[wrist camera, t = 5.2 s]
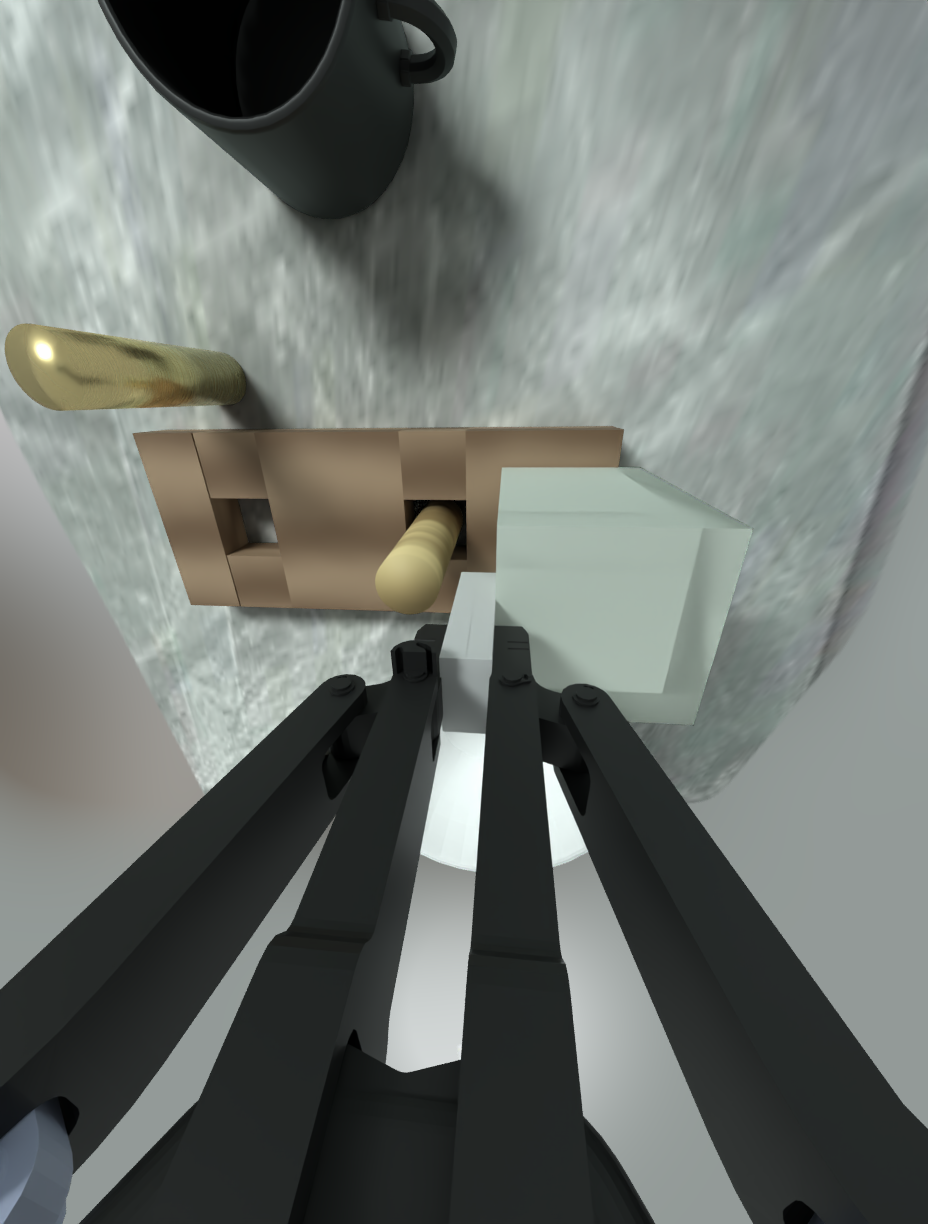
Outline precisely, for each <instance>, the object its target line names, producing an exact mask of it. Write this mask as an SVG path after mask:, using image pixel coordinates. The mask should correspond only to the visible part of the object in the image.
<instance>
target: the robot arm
mask: <svg viewBox="0 0 928 1224" xmlns="http://www.w3.org/2000/svg"><path fill="white" fill-rule="evenodd" d="M495 593H496V573H485V572H461V576H460V580H459V584H458V588H457V591H456V595H455V599H454V603H453V607H452V610H451V614H450V618H449V622H448V625H435V624H425V625H424V626H423V627H422V628H421V629H419V630H418V631H417V634H416V636H415V640H411V641H406V642H402V643H400V644H398V645H396V646H394V648H393V649H392V650H391V659H392V668H393V676H392V679H391V680H390V681H388V682H385V683H381V684H376V685H370V686H366V685H365V681H364V680H363V679H362V678H361V677H359V676H356V675H349V674H345V675H339V676H335V677H333V678H330V679H328V680H327V681H325V682H324V683H322V684H321V685H320V686H319V687H318V688H317V689H316V690H315V691H314V692H313V693H312V694H311V695H310V696H309V697H308V698H307V699H306V700H304V701H303V702H302V703H301V704H300V705H299V706H298V707H297V708H296V709H295V710H294V711H293V712H292V713H291V714H290V715H289V716H288V717H287V718H286V719H284V720H283V721H282V722H281V723H280V724H279V725H278V726H277V727H276V728H275V729H274V730H273V731H272V732H271V733H270V734H269V735H268V736H267V737H266V738H265V739H263V740H262V741H261V742H260V743H259V744H258V745H257V746H256V747H255V748H254V749H253V750H252V751H251V752H250V753H249V754H248V755H247V756H246V757H245V758H243V759H242V760H241V761H240V762H239V763H238V764H237V765H236V766H235V767H234V768H233V769H232V770H231V771H230V772H229V773H228V774H227V775H226V776H225V777H223V778H222V779H221V780H220V781H219V782H218V783H217V784H216V785H215V786H214V787H213V788H212V789H211V790H210V791H209V792H208V793H207V794H206V795H205V796H204V797H202V798H201V799H200V801H198V802H197V803H196V804H195V805H194V806H193V807H192V808H191V809H190V810H189V811H188V812H187V813H186V814H185V815H184V816H182V817H181V819H179V820H178V821H177V822H176V823H175V824H174V825H173V826H172V827H171V828H170V829H169V830H168V831H167V832H166V833H165V834H164V835H162V837H160V838H159V839H158V840H157V841H156V842H155V843H154V844H153V845H152V846H151V847H150V848H149V849H148V850H147V851H146V852H145V853H144V854H142V855H141V857H139V858H138V859H137V860H136V861H135V862H134V863H133V864H132V865H131V866H130V867H129V868H128V869H127V870H126V871H125V872H124V873H123V874H122V875H120V876H119V877H118V878H117V879H116V880H115V881H114V882H113V883H112V884H111V885H110V886H109V887H108V888H107V889H106V890H105V891H104V892H103V893H101V895H99V896H98V898H96V899H95V900H94V901H93V902H92V903H91V904H90V905H89V906H88V907H87V908H86V909H85V910H84V911H83V912H82V913H80V914H79V915H78V916H77V917H76V918H75V919H74V920H73V921H72V922H71V923H70V924H69V925H68V926H67V927H66V928H65V929H64V930H63V931H62V932H61V933H60V934H58V935H57V936H56V937H55V938H54V939H53V940H52V941H51V942H50V943H49V944H48V945H47V946H46V947H45V948H44V949H43V950H42V951H40V953H38V954H37V955H36V956H35V957H34V958H33V959H32V960H31V961H30V962H29V963H28V964H27V965H26V966H25V967H24V968H23V969H22V970H20V972H18V973H17V974H16V975H15V976H14V977H13V978H12V979H11V980H10V981H9V982H8V983H7V984H6V985H5V986H4V987H3V988H2V989H0V1224H62V1223H63V1220H64V1217H65V1214H66V1197H67V1195H68V1192H69V1188H70V1184H71V1179H72V1175H73V1174H74V1173H75V1172H76V1170H77V1169H78V1168H79V1167H80V1166H81V1165H82V1164H83V1163H84V1162H85V1161H86V1160H87V1159H88V1158H89V1156H91V1154H92V1153H93V1152H94V1151H95V1150H96V1149H97V1148H98V1146H99V1145H100V1144H101V1143H102V1142H103V1141H104V1139H105V1138H106V1137H107V1136H108V1134H109V1133H110V1132H111V1131H112V1129H114V1127H115V1126H116V1125H117V1124H118V1123H119V1121H120V1120H121V1119H122V1118H123V1116H124V1115H125V1114H126V1113H127V1112H128V1111H129V1109H130V1108H131V1107H132V1106H133V1105H134V1103H135V1102H136V1100H137V1099H138V1098H139V1096H140V1095H141V1094H142V1092H143V1091H144V1089H145V1088H146V1087H147V1085H148V1084H149V1083H150V1081H151V1080H152V1079H153V1077H154V1076H155V1075H156V1073H157V1072H158V1071H159V1069H160V1068H161V1067H162V1065H163V1064H164V1062H165V1061H166V1060H167V1058H168V1057H169V1055H170V1054H171V1052H172V1051H173V1049H174V1048H175V1047H176V1045H177V1043H178V1042H179V1041H180V1039H181V1038H182V1036H183V1035H184V1034H185V1032H186V1031H187V1029H188V1028H189V1026H190V1025H191V1023H192V1022H193V1021H194V1019H195V1018H196V1016H197V1015H198V1013H199V1012H200V1010H201V1009H202V1007H203V1006H204V1005H205V1003H206V1002H207V1000H208V999H209V997H210V996H211V995H212V993H213V992H214V990H215V989H216V987H217V986H218V984H219V983H220V981H221V980H222V978H223V977H224V976H225V974H226V973H227V971H228V970H229V968H230V967H231V965H232V964H233V963H234V961H235V960H236V958H237V957H238V955H239V954H240V953H241V951H242V950H243V948H244V947H245V945H246V944H247V942H248V941H249V940H250V938H251V937H252V935H253V934H254V932H255V931H256V929H257V928H258V927H259V925H260V924H261V922H262V921H263V919H264V918H265V916H266V915H267V914H268V912H269V911H270V909H271V908H272V906H273V905H274V903H275V902H276V900H277V899H278V898H279V896H280V894H281V893H282V892H283V890H284V889H285V887H286V886H287V885H288V883H289V882H290V880H291V879H292V877H293V876H294V874H295V873H296V871H297V870H298V869H299V867H300V866H301V864H302V863H303V861H304V860H305V859H306V857H307V856H308V854H309V853H310V851H311V850H312V848H313V847H314V846H315V844H316V843H317V841H318V840H319V838H320V837H321V835H322V834H323V833H324V831H325V830H326V828H327V827H328V825H329V824H330V822H331V821H332V820H333V818H334V817H335V815H336V817H335V819H334V822H333V824H332V826H331V829H330V831H329V834H328V836H327V839H326V841H325V844H324V846H323V849H322V851H321V854H320V856H319V859H318V861H317V863H316V866H315V868H314V871H313V873H312V876H311V878H310V880H309V883H308V886H307V888H306V891H305V893H304V895H303V898H302V900H301V903H300V905H299V908H298V910H297V912H296V915H295V918H294V919H293V921H292V923H291V925H290V927H289V928H288V929H287V931H285V932H282V933H280V934H278V935H276V936H275V937H274V938H273V939H272V941H271V942H270V943H269V944H268V946H267V948H266V950H265V952H264V953H263V955H262V958H261V959H260V961H259V964H258V966H257V968H256V970H255V973H254V975H253V977H252V979H251V982H250V984H249V986H248V989H247V991H246V993H245V995H244V998H243V1000H242V1002H241V1005H240V1007H239V1009H238V1011H237V1014H236V1016H235V1018H234V1021H233V1023H232V1025H231V1028H230V1030H229V1032H228V1034H227V1037H226V1039H225V1041H224V1043H223V1046H222V1048H221V1050H220V1053H219V1055H218V1057H217V1059H216V1062H215V1064H214V1066H213V1069H212V1071H211V1073H210V1076H209V1078H208V1080H207V1082H206V1085H205V1087H204V1089H203V1092H202V1094H201V1096H200V1098H199V1100H198V1101H197V1102H196V1103H195V1104H194V1105H193V1106H192V1107H191V1108H190V1109H189V1110H188V1111H187V1112H186V1113H185V1114H184V1115H183V1116H182V1117H181V1118H180V1119H179V1120H178V1121H177V1122H176V1123H175V1124H174V1126H172V1127H171V1129H169V1131H168V1132H167V1133H166V1134H165V1135H164V1136H163V1137H162V1138H161V1139H160V1140H159V1141H158V1142H157V1143H156V1144H155V1145H154V1146H153V1147H152V1148H151V1149H150V1150H149V1151H148V1152H147V1153H146V1154H145V1156H143V1158H142V1159H141V1160H140V1161H139V1162H138V1163H137V1164H136V1165H135V1166H134V1167H133V1168H132V1169H131V1170H130V1171H129V1172H128V1173H127V1174H126V1175H125V1176H124V1177H123V1178H122V1179H121V1180H120V1181H119V1183H118V1184H117V1185H116V1186H115V1187H114V1188H113V1189H112V1190H111V1191H110V1192H109V1193H108V1194H107V1195H106V1196H105V1197H104V1198H103V1199H102V1200H101V1201H100V1202H99V1203H98V1204H97V1205H96V1206H95V1207H94V1209H92V1211H91V1212H90V1213H89V1214H88V1215H87V1216H86V1217H85V1218H84V1219H83V1220H82V1221H81V1222H80V1223H79V1224H655V1223H654V1221H653V1219H652V1217H651V1216H650V1214H649V1212H648V1210H647V1209H646V1207H645V1205H644V1204H643V1202H642V1200H641V1198H640V1196H639V1195H638V1193H637V1191H636V1189H635V1188H634V1186H633V1184H632V1183H631V1181H630V1179H629V1177H628V1176H627V1174H626V1172H625V1170H624V1169H623V1167H622V1166H621V1164H620V1162H619V1161H618V1159H617V1158H616V1156H615V1155H614V1154H613V1152H612V1151H611V1149H610V1148H609V1146H608V1145H607V1144H606V1142H605V1141H604V1139H603V1138H602V1137H601V1135H600V1134H599V1133H598V1132H597V1131H596V1130H595V1129H594V1127H593V1126H592V1125H591V1124H590V1123H589V1122H588V1121H587V1119H585V1118H584V1117H583V1111H582V1102H581V1092H580V1082H579V1073H578V1064H577V1054H576V1043H575V1034H574V1025H573V1015H572V1006H571V995H570V987H569V980H568V973H567V968H566V964H565V962H564V961H563V959H562V956H561V950H560V943H559V932H558V921H557V910H556V899H555V888H554V878H553V866H552V856H551V845H550V834H549V823H548V813H547V802H546V791H545V780H544V769H543V762H545V763H548V764H551V765H553V768H554V773H555V775H556V777H557V780H558V782H559V784H560V787H561V789H562V791H563V794H564V796H565V798H566V801H567V803H568V805H569V808H570V810H571V812H572V815H573V817H574V819H575V822H576V824H577V826H578V829H579V831H580V833H581V836H582V838H583V840H584V843H585V845H586V848H587V850H588V852H589V855H590V857H591V859H592V861H593V864H594V866H595V868H596V871H597V873H598V875H599V878H600V880H601V883H602V885H603V887H604V890H605V892H606V894H607V896H608V899H609V901H610V904H611V906H612V908H613V911H614V913H615V915H616V918H617V920H618V922H619V925H620V927H621V929H622V932H623V934H624V936H625V939H626V941H627V943H628V945H629V948H630V950H631V953H632V955H633V957H634V960H635V962H636V965H637V967H638V969H639V971H640V974H641V976H642V978H643V981H644V983H645V986H646V988H647V990H648V993H649V995H650V997H651V1000H652V1002H653V1004H654V1007H655V1009H656V1011H657V1014H658V1016H659V1018H660V1021H661V1023H662V1025H663V1027H664V1030H665V1032H666V1035H667V1037H668V1039H669V1042H670V1044H671V1046H672V1049H673V1051H674V1053H675V1056H676V1058H677V1060H678V1063H679V1065H680V1067H681V1070H682V1072H683V1074H684V1077H685V1079H686V1082H687V1084H688V1086H689V1089H690V1091H691V1093H692V1096H693V1098H694V1100H695V1103H696V1104H697V1107H698V1109H699V1112H700V1114H701V1117H702V1119H703V1121H704V1124H705V1126H706V1128H707V1131H708V1133H709V1135H710V1137H711V1140H712V1141H713V1144H714V1146H715V1148H716V1150H717V1152H718V1155H719V1157H720V1159H721V1161H722V1163H723V1165H724V1167H725V1169H726V1172H727V1174H728V1176H729V1178H730V1180H731V1182H732V1184H733V1187H734V1189H735V1191H736V1193H737V1194H738V1196H739V1198H740V1200H741V1202H742V1204H743V1206H744V1208H745V1209H746V1211H747V1213H748V1215H749V1217H750V1219H751V1220H752V1222H753V1224H928V1129H927V1128H926V1127H925V1126H924V1125H923V1124H922V1123H921V1122H920V1121H919V1120H918V1119H917V1118H916V1117H915V1116H914V1114H912V1113H911V1111H909V1109H907V1107H906V1106H905V1105H904V1104H903V1103H902V1102H901V1100H900V1099H899V1098H898V1096H897V1095H896V1093H895V1092H894V1091H893V1089H892V1088H891V1086H890V1085H889V1084H888V1082H887V1081H886V1079H885V1078H884V1077H883V1075H882V1074H881V1072H880V1071H879V1070H878V1068H877V1067H876V1066H875V1064H874V1063H873V1061H872V1060H871V1059H870V1057H869V1056H868V1054H867V1053H866V1052H865V1050H864V1049H863V1048H862V1046H861V1045H860V1043H859V1042H858V1041H857V1039H856V1038H855V1036H854V1035H853V1034H852V1032H851V1031H850V1029H849V1028H848V1027H847V1026H846V1024H845V1022H844V1021H843V1020H842V1018H841V1017H840V1016H839V1014H838V1013H837V1011H836V1010H835V1009H834V1007H833V1006H832V1005H831V1003H830V1002H829V1000H828V999H827V997H826V996H825V995H824V993H823V992H822V991H821V989H820V988H819V986H818V985H817V984H816V982H815V981H814V980H813V978H812V977H811V975H810V974H809V973H808V972H807V970H806V968H805V967H804V966H803V964H802V963H801V961H800V960H799V959H798V957H797V956H796V955H795V953H794V952H793V950H792V949H791V948H790V946H789V945H788V944H787V942H786V941H785V939H784V938H783V936H782V935H781V934H780V932H779V931H778V930H777V928H776V927H775V925H774V924H773V923H772V921H771V920H770V918H769V917H768V916H767V914H766V913H765V912H764V910H763V909H762V907H761V906H760V905H759V903H758V902H757V901H756V899H755V898H754V896H753V895H752V893H751V892H750V891H749V889H748V888H747V886H746V885H745V884H744V882H743V881H742V880H741V878H740V877H739V876H738V874H737V873H736V871H735V870H734V869H733V867H732V866H731V865H730V863H729V861H728V860H727V859H726V857H725V856H724V855H723V853H722V852H721V850H720V849H719V848H718V846H717V845H716V844H715V842H714V841H713V839H712V838H711V836H710V835H709V834H708V832H707V831H706V830H705V828H704V827H703V825H702V824H701V823H700V821H699V820H698V818H697V817H696V816H695V814H694V813H693V812H692V810H691V809H690V807H689V806H688V805H687V803H686V802H685V800H684V799H683V798H682V796H681V795H680V793H679V792H678V791H677V789H676V788H675V787H674V785H673V784H672V782H671V781H670V780H669V778H668V777H667V775H666V774H665V773H664V771H663V770H662V768H661V767H660V766H659V764H658V763H657V762H656V760H655V759H654V757H653V756H652V755H651V753H650V752H649V750H648V749H647V748H646V746H645V745H644V744H643V742H642V741H641V739H640V738H639V737H638V735H637V734H636V732H635V731H634V730H633V728H632V727H631V725H630V724H629V723H628V721H627V720H626V719H625V717H624V716H623V714H622V713H621V712H620V710H619V709H618V707H617V706H616V705H615V703H614V702H613V700H612V699H611V698H610V696H609V695H608V694H607V693H606V692H605V691H604V690H602V689H600V688H598V687H596V686H593V685H589V684H577V683H576V684H572V685H569V686H567V687H566V688H564V689H563V691H562V693H559V692H555V691H552V690H549V689H546V688H544V687H542V686H540V685H539V684H538V683H537V682H536V681H535V679H534V676H533V675H532V667H531V655H530V644H529V634H528V633H527V631H526V630H525V629H524V628H523V627H522V626H495ZM441 724H442V730H443V732H461V733H479V734H485V748H484V763H483V777H482V792H481V806H480V821H479V835H478V850H477V864H476V880H475V895H474V908H473V923H472V924H473V925H472V937H471V949H470V953H469V960H468V971H467V984H466V998H465V1012H464V1026H463V1039H462V1053H461V1060H458V1061H454V1062H450V1063H445V1064H442V1065H437V1066H433V1067H429V1068H425V1069H421V1070H417V1071H413V1072H408V1073H404V1072H399V1071H397V1070H395V1069H393V1068H391V1067H390V1066H388V1065H386V1064H385V1063H386V1054H387V1044H388V1027H389V1016H390V1010H391V1004H392V999H393V993H394V988H395V983H396V978H397V972H398V967H399V962H400V956H401V951H402V946H403V941H404V935H405V930H406V925H407V919H408V914H409V908H410V903H411V898H412V893H413V887H414V882H415V877H416V872H417V867H418V861H419V856H420V851H421V845H422V840H423V835H424V830H425V824H426V819H427V814H428V808H429V803H430V798H431V793H432V787H433V782H434V777H435V771H436V766H437V761H438V756H439V750H440V745H441V740H440V729H441Z"/></svg>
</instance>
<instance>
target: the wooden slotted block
mask: <svg viewBox="0 0 928 1224" xmlns="http://www.w3.org/2000/svg"><path fill="white" fill-rule="evenodd" d="M623 432H624V430H623V429H620V428H616V427H613V426H583V427H460V428H337V429H221V430H220V429H213V430H161V431H151V432H141V433H133V436H134V439H135V442H136V445H137V448H138V451H139V454H140V456H141V459H142V462H143V465H144V468H145V471H146V474H147V477H148V480H149V483H150V486H151V489H152V492H153V495H154V498H155V501H156V503H157V506H158V509H159V512H160V515H161V518H162V521H163V524H164V527H165V530H166V533H167V536H168V539H169V542H170V545H171V547H172V550H173V553H174V556H175V559H176V562H177V565H178V568H179V571H180V574H181V577H182V580H183V583H184V586H185V589H186V592H187V594H188V597H189V600H190V603H191V605H211V606H243V607H276V608H308V609H341V610H374V611H396V612H399V613H403V614H418V613H421V612H439V613H451V610H452V607H453V603H454V599H455V595H456V591H457V588H458V584H459V580H460V576H461V572H485V573H496V549H497V520H498V508H499V496H500V484H501V473H502V467H619V460H620V453H621V446H622V439H623ZM238 498H248V499H269V504H270V508H271V513H272V517H273V522H274V526H275V531H276V535H277V540H278V543H249V542H248V538H247V534H246V530H245V526H244V522H243V518H242V514H241V510H240V506H239V502H238ZM414 500H431V501H430V502H428V503H427V504H426V506H425V507H424V508H423V510H422V511H421V512H420V514H419V515H418V516H417V518H416V519H415V513H414ZM452 500H466V524H467V546H455V545H456V542H457V539H458V536H459V533H460V531H461V528H462V525H463V514H462V511H461V509H460V507H459V506H458V505H457V504H456V503H455V502H454V501H452Z"/></svg>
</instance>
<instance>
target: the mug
mask: <svg viewBox="0 0 928 1224" xmlns="http://www.w3.org/2000/svg"><path fill="white" fill-rule="evenodd" d="M98 2H99V5H100V7H101V9H102V11H103V13H104V15H105V17H106V19H107V21H108V23H109V24H110V26H111V28H112V30H113V32H114V34H115V35H116V37H117V39H118V41H119V43H120V44H121V46H122V47H123V49H124V50H125V52H126V53H127V54H128V56H129V57H130V59H131V60H132V62H133V63H134V65H135V66H136V67H137V69H138V70H139V71H140V72H141V74H142V75H143V76H144V77H145V78H146V80H147V81H148V82H149V83H150V84H151V85H152V86H153V88H154V89H155V90H156V91H157V92H158V93H159V94H160V95H161V96H162V97H163V98H165V99H166V100H167V101H168V102H169V103H170V104H171V105H172V106H174V107H175V108H176V109H177V110H178V111H179V112H180V113H182V114H183V115H184V116H185V117H186V118H187V119H189V120H190V121H191V122H192V123H193V124H194V125H196V126H197V127H198V128H199V129H200V130H201V131H202V132H204V133H205V134H206V135H207V136H208V137H209V138H211V139H212V140H213V141H214V142H215V143H216V144H218V145H219V146H220V147H221V148H222V149H223V150H225V151H226V152H227V153H228V154H229V155H230V156H231V157H233V158H234V159H235V160H236V161H237V162H238V163H240V164H241V165H242V166H243V167H244V168H245V169H247V170H248V171H249V172H250V173H251V174H252V175H253V176H255V177H256V178H257V179H258V180H259V181H260V182H262V183H263V184H264V185H265V186H266V187H267V188H269V189H270V190H271V191H272V192H273V193H274V194H276V195H277V196H278V197H279V198H280V199H281V200H283V201H284V202H285V203H287V204H288V205H290V206H291V207H293V208H294V209H296V210H298V211H300V212H302V213H305V214H307V215H310V216H313V217H318V218H322V219H336V218H342V217H347V216H351V215H353V214H355V213H357V212H360V211H361V210H363V209H365V208H366V207H368V206H369V205H370V204H372V203H373V202H374V201H375V200H376V199H377V198H378V197H379V196H380V195H381V194H382V193H383V192H384V191H385V189H386V188H387V186H388V185H389V184H390V182H391V181H392V179H393V178H394V176H395V174H396V172H397V170H398V168H399V166H400V164H401V161H402V159H403V156H404V153H405V150H406V147H407V144H408V139H409V135H410V130H411V124H412V115H413V105H414V91H413V86H414V84H421V83H431V82H434V81H437V80H440V79H442V78H443V77H445V76H446V75H447V74H448V73H449V72H450V70H451V69H452V67H453V65H454V60H455V54H456V48H457V38H456V35H455V32H454V29H453V27H452V25H451V22H450V21H449V19H448V18H447V16H446V14H445V13H444V11H443V10H442V9H441V7H440V6H439V5H438V4H437V3H436V2H435V1H434V0H98ZM401 21H404V22H407V23H409V24H411V25H413V26H415V27H417V28H418V29H420V30H421V31H422V32H424V33H425V34H426V35H427V36H428V37H429V38H430V40H431V41H432V42H433V44H434V46H435V49H434V50H432V51H430V52H428V53H425V54H416V55H413V54H412V52H411V50H409V49H408V45H407V40H406V37H405V33H404V30H403V26H402V23H401Z"/></svg>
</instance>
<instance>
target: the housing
mask: <svg viewBox="0 0 928 1224" xmlns="http://www.w3.org/2000/svg"><path fill="white" fill-rule="evenodd" d="M752 532H753V528H751V527H749V526H747V525H745V524H743V523H742V522H740V521H738V520H736V519H734V518H732V517H731V516H729V515H727V514H725V513H723V512H721V511H720V510H718V509H716V508H714V507H712V506H710V505H709V504H707V503H705V502H703V501H701V500H699V499H698V498H696V497H694V496H692V495H690V494H688V493H687V492H685V491H683V490H681V489H679V488H677V487H676V486H674V485H672V484H670V483H668V482H666V481H665V480H663V479H661V478H659V477H657V476H655V475H654V474H652V473H650V472H648V471H646V470H644V469H643V468H641V467H502V473H501V484H500V496H499V508H498V520H497V549H496V593H495V626H522V627H523V628H524V629H525V630H526V631H527V633H528V634H529V644H530V655H531V667H532V675H533V676H534V679H535V681H536V682H537V683H538V684H539V685H540V686H542V687H544V688H546V689H549V690H552V691H555V692H559V693H562V691H563V689H564V688H566V687H567V686H569V685H572V684H576V683H577V684H589V685H593V686H596V687H598V688H600V689H602V690H604V691H605V692H606V693H607V694H608V695H609V696H610V698H611V699H612V700H613V702H614V703H615V705H616V706H617V707H618V709H619V710H620V712H621V713H622V714H623V716H624V717H625V719H626V720H627V721H628V722H636V723H656V724H675V725H694V723H695V719H696V716H697V713H698V710H699V706H700V703H701V700H702V696H703V693H704V690H705V686H706V683H707V680H708V677H709V673H710V670H711V667H712V663H713V660H714V657H715V654H716V650H717V647H718V644H719V640H720V637H721V634H722V630H723V627H724V624H725V621H726V617H727V614H728V611H729V607H730V604H731V601H732V598H733V594H734V591H735V588H736V584H737V581H738V578H739V574H740V571H741V568H742V565H743V561H744V558H745V555H746V551H747V548H748V545H749V542H750V538H751V535H752Z"/></svg>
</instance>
